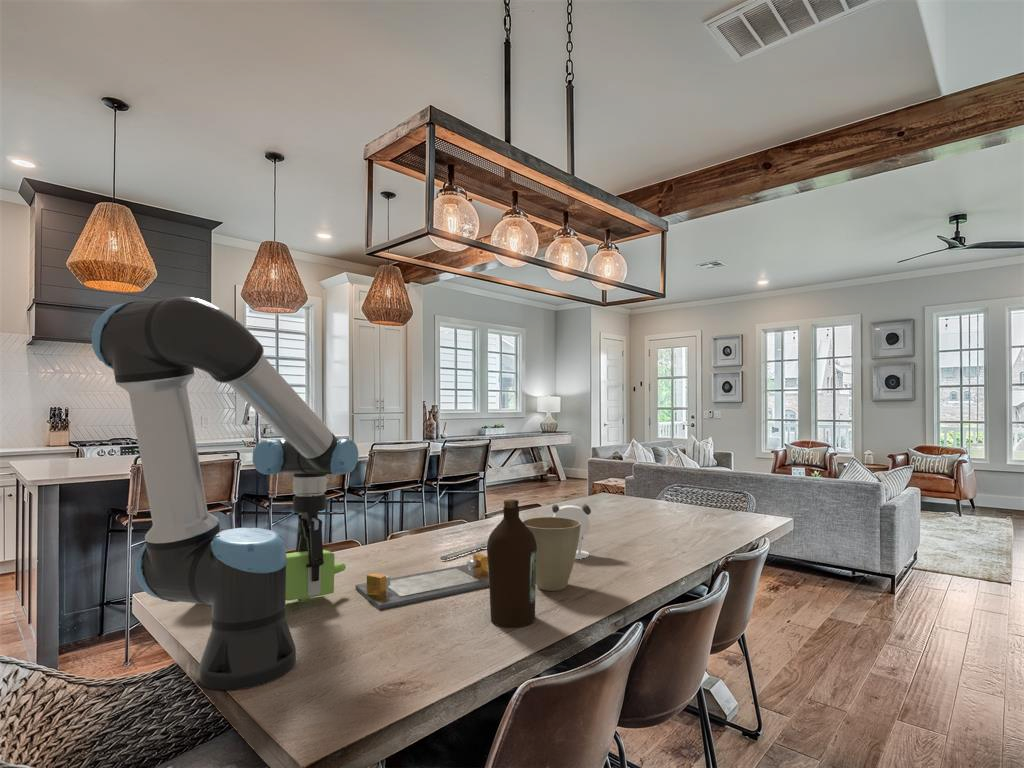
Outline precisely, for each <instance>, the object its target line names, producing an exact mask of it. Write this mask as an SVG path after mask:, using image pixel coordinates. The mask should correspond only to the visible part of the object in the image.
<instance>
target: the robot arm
mask: <svg viewBox="0 0 1024 768" xmlns="http://www.w3.org/2000/svg"><path fill="white" fill-rule="evenodd" d="M91 345H92V349H93V351H94V355H95V357H97V359H98V360H99V361H101V362H102V363H103V364H104V365H105V366H106V367H107V368H109V369H111V370H113V375H114V380H115V385H116V386H118V387H120V388H121V389H123V390H124V391H126V392H127V393H128V395H129V400H130V401H129V402H130V407H131V411H132V417H133V423H134V428H135V429H134V430H135V433H136V434H135V435H136V440H137V446H138V450H139V456H140V461H141V467H142V473H143V478H144V482H145V483H144V484H145V489H146V490H145V491H146V493H147V499H148V504H149V510H150V517H151V523H152V525H151V528H149V530H148V531H147V532H146V534H145V535H144V541H145V543H144V544H143V545H142V547H141V548H140V551H139V553H140V555H139V556H137V558H136V561H135V566H134V567H135V569H134V570H135V571H134V572H135V577H136V580H137V583H138V585H139V587H140V588H141V589H142V590H143V592H145V593H146V594H147V595H150V596H151V597H153V598H157V599H160V600H163V601H168V602H170V603H171V602H172V603H174V602H175V603H177V602H181V603H190V604H199V605H207V606H211V627H210V628H211V630H210V634H209V636H208V639H207V643H206V645H205V648H204V650H203V654H202V656H201V659H200V663H199V665H198V666H199V667H198V681H199V684H200V685H202V686H203V687H205V688H208V689H212V690H217V691H218V690H219V691H233V690H234V691H235V690H241V689H248V688H252V687H257V686H260V685H264V684H265V683H270V682H272V681H275V680H277V679H279V678H280V677H282V676H284V675H285V674H287V673H288V672H289V671H290V670H292V669H293V667H294V666H295V665H296V661H297V656H296V655H297V654H296V653H297V652H296V651H297V650H296V644H295V642H294V638H293V636H292V634H291V630H290V626H289V624H288V622H287V619H286V601H287V600H286V562H287V556H286V554H287V552H286V551H287V550H286V542H285V539H284V537H283V536H282V535H281V533H279V532H277V531H275V530H271V529H267V528H260V527H251V528H249V527H237V528H236V527H234V528H229V529H225V530H222V531H221V526H220V521H219V518H218V517H217V516H216V515H213V513H210V512H209V511H208V506H207V500H206V494H205V489H204V488H205V487H204V483H203V481H204V480H203V476H202V470H201V465H200V464H201V463H200V458H199V457H200V456H199V452H198V447H197V440H196V435H195V428H194V422H193V416H192V411H191V404H190V399H189V392H188V383H189V382H190V381H191V380H192V379H193V378H194V377H195V369H199V370H201V371H204V372H206V373H207V374H208V375H210V377H211V378H212V379H214V380H215V382H218V383H220V384H228V385H229V386H230V387H231V388H232V389H233V390H234V391H235V392H236V393H237V394H238V395H239V396H240V397H241V398H242V399H243V400H244V401H245V402H247V404H248V405H249V406H250V407H252V409H254V411H256V412H257V413H258V414H259V416H261V417H262V418H263V419H264V420H265V422H267V424H269V425H270V426H271V427H272V428H273V429H274V430H275V431H276V432H277V433H278V434H279V435H280V437H281V436H282V438H278V439H277V438H275V439H273V438H271V439H265V440H262V441H260V442H258V443H257V444H256V446H255V447H254V449H253V451H252V464H253V466H254V468H255V470H256V471H257V472H258V473H261V474H262V475H277V474H293V477H292V481H293V483H292V484H293V485H292V492H293V494H294V496H293V497H292V500H293V501H292V511H293V512H295V513H298V515H297V521H298V523H297V531H296V532H297V533H296V546H295V552H303V551H308V557H309V564H307V565H306V568H308V591H307V596H313V595H319V594H320V590H321V565H322V564H324V560H323V550H324V546H323V531H322V530H323V521H322V519H320V518H319V515H318V513H319V512H322V511H325V510H326V509H327V495H326V492H327V484H328V483H329V482H330V479H329V478H327V477H328V476H327V475H333V476H336V475H347V474H350V473H352V472H353V471H354V470H355V469H356V467H357V463H358V461H359V456H360V455H359V449H358V446H357V444H356V442H354V440H351V439H347V438H343V437H342V438H338V437H337V436H335V434H334V433H333V432H332V431H331V430H330V428H329V427H328V426H327V425H326V424H325V423H324V422H323V420H321V418H319V416H318V415H317V413H315V411H314V410H313V409H311V407H310V406H309V405H308V404H307V403H306V402H305V401H304V400H303V398H301V396H300V395H299V393H297V392H296V391H295V389H294V388H293V387H292V386H291V385H290V384H289V383H288V381H287V380H286V379H285V378H284V377H283V376H282V375H281V374H280V372H279V371H278V370H277V369H276V368H275V367H274V366H273V365H272V363H270V361H269V360H268V359H267V358H266V357H265V356H264V350H265V349H264V346H263V345H262V344H261V342H260V341H259V340H258V339H257V338H256V337H255V336H254V335H253V334H252V333H251V332H250V331H249V329H247V328H246V327H245V326H244V325H243V324H242V323H241V322H239V320H237V319H235V318H234V317H233V316H232V315H231V314H229V313H228V312H226V311H225V310H223V309H222V308H219V307H218V306H216V305H214V304H212V303H210V302H208V301H206V300H203V299H202V298H201V299H200V298H198V297H197V298H196V297H192V296H174V297H170V298H169V297H168V298H158V299H157V298H156V299H147V300H146V299H145V300H143V299H142V300H137V299H136V300H132V301H128V302H125V303H121V304H116V305H114V306H111V307H109V308H107V309H106V310H105V311H104V312H103V313H102V314H101V315H100V316H99V317H98V318H97V319H96V321H95V322H94V325H93V327H92V332H91ZM315 559H318V560H315Z"/></svg>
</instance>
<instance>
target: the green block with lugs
mask: <svg viewBox="0 0 1024 768" xmlns="http://www.w3.org/2000/svg"><path fill="white" fill-rule="evenodd" d="M286 556H287V562H286V601H294V600H301V599H302V600H303V599H308V598H316V597H320V596H325V595H330V594H334V592H335V575H336V574H339V573H341V572H344V571H345V570H346V564H345V563H344V562H339V563H335V553H334V552H332V551H330V550H325V549H323V560H324V564H322V565H321V590H320V594H319V595H313V596H307V591H308V568H306V565H307V564H309V557H308V551H303V552H296V551H295V552H289V553H288V552H287V553H286ZM315 560H318V559H315Z"/></svg>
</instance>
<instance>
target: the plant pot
mask: <svg viewBox="0 0 1024 768" xmlns="http://www.w3.org/2000/svg"><path fill="white" fill-rule="evenodd" d="M521 521H522V522H523V523H524V524H525V525H526V526H527V527H528V528H529V529H530V530H531V532H532V533H533V535H534V537H535V540H536V544H537V559H536V588H537V589H540V590H542V591H547V592H549V591H550V592H556V591H561V590H565V589H566V588H567V585H568V582H569V580H570V577H571V574H572V570H573V568H574V564H575V561H576V560H575V556H576V552H577V547H578V541H579V534H580V526H581V523H580V522H579V521H577V520H574V519H569V518H560V517H553V516H538V517H531V518H527V519H524V520H521Z"/></svg>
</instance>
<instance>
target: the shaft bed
mask: <svg viewBox="0 0 1024 768" xmlns="http://www.w3.org/2000/svg"><path fill="white" fill-rule="evenodd" d="M484 588H489V573H488V558H487V555H485V554H482V553H479V552H478V553H472V559H471V560H467V562H466V564H464V565H458V566H456V565H455V566H452V567H448V568H447V567H446V568H440V569H437V570H436V569H434V570H430V571H426V572H419V573H413V574H408V575H402V576H396V577H391V575H385V574H379V573H374V572H373V573H369V574H366V582H364V583H359V584H355V590H356V591H357V592H358V591H359V593H360V594H361V595H362V596H363V597H364V598H365V600H368V601H369V602H370V603H371V604H372V605H373V606H374V607H376V609H378V610H385V609H390V608H395V607H400V606H405V605H409V604H414V603H419V602H423V601H428V600H433V599H434V600H435V599H437V598H441V597H442V598H443V597H447V596H453V595H457V594H461V593H466V592H470V591H471V592H472V591H476V590H480V589H484Z"/></svg>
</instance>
